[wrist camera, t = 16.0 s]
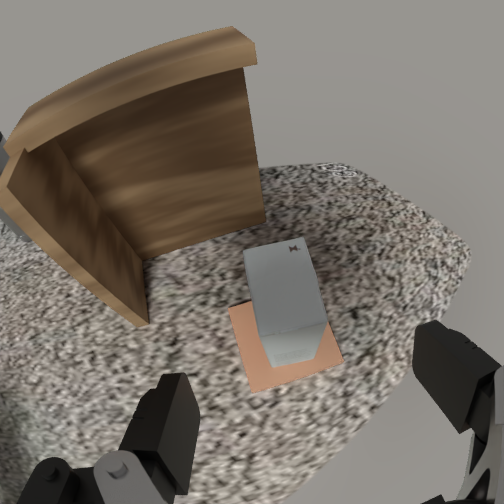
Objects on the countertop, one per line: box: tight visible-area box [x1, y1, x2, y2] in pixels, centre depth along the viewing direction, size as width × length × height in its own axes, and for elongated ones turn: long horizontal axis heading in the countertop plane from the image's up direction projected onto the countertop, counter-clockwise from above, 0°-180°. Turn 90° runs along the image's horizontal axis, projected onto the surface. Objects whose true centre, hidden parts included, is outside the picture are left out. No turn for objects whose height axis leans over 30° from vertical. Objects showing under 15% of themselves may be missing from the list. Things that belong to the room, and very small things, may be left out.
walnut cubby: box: [0, 26, 266, 327], centre depth 24 cm, size 10×18×23 cm, turn 106°
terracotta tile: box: [228, 301, 344, 393], centre depth 28 cm, size 9×9×1 cm
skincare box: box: [243, 237, 328, 368], centre depth 23 cm, size 6×4×12 cm
